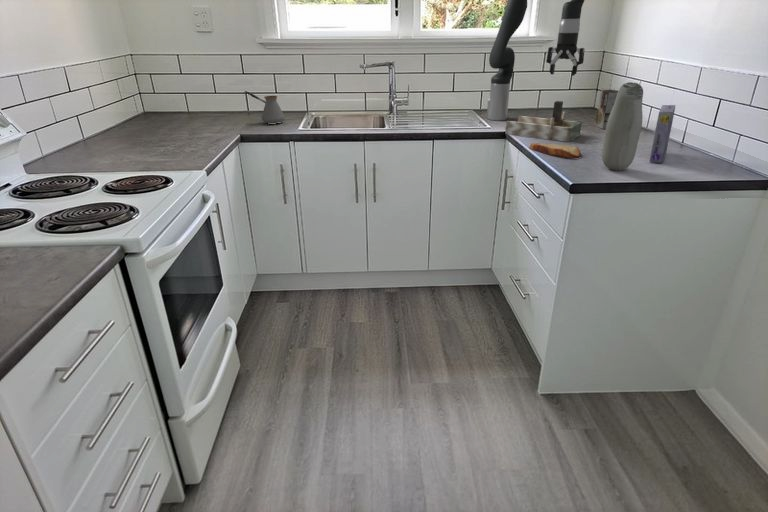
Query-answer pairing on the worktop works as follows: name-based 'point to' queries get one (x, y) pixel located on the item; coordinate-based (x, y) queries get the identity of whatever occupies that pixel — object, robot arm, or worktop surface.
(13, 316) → the worktop surface
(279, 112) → the coffee pot
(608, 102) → the coffee box
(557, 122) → the block
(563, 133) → the beige and green tray
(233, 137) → the worktop surface
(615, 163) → the grey bottle
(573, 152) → the bread slice
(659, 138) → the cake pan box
